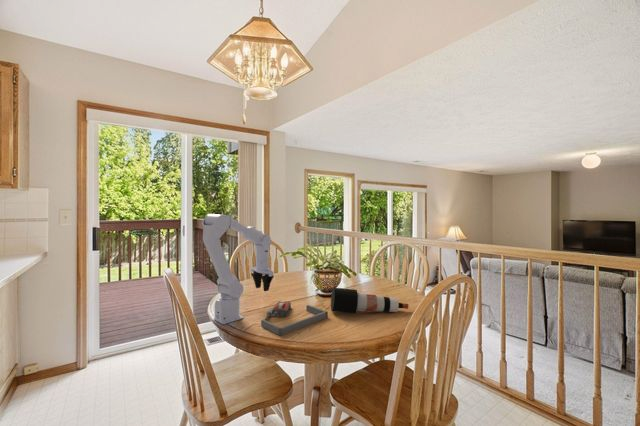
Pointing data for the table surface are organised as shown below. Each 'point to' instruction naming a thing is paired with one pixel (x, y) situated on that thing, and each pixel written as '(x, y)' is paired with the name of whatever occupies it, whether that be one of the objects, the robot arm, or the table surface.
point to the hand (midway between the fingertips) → (262, 289)
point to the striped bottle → (362, 302)
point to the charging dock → (297, 325)
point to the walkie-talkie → (279, 309)
